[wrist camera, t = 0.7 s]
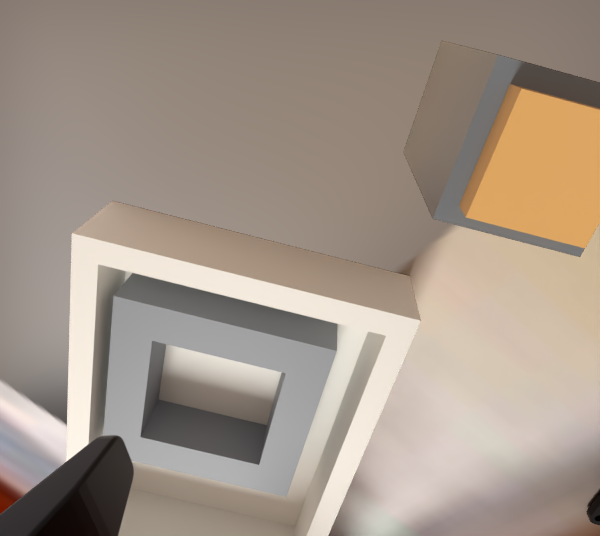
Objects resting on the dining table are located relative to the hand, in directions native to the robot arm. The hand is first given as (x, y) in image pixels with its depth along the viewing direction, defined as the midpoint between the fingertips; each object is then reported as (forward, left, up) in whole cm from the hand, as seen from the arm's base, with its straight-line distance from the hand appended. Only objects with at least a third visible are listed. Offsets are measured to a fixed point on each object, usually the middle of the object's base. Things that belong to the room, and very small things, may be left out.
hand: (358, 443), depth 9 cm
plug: (-3, -5, -13) cm, 14 cm away
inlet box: (+3, +11, -13) cm, 17 cm away
